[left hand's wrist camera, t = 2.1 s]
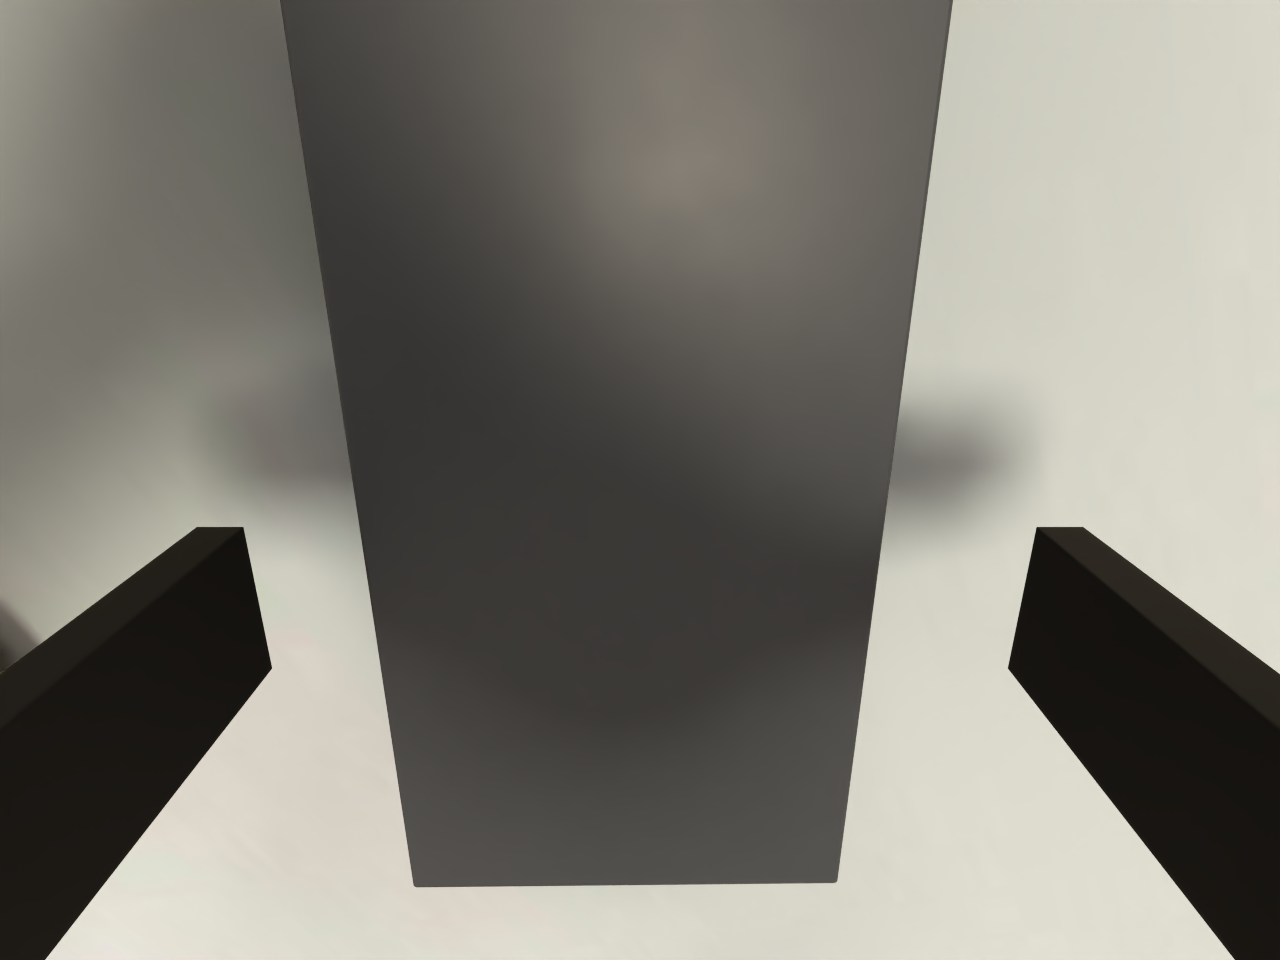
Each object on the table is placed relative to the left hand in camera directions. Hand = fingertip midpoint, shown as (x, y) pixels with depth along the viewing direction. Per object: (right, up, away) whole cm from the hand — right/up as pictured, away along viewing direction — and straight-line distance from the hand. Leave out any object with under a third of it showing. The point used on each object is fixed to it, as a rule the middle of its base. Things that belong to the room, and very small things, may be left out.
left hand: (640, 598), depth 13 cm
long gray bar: (0, +29, -3) cm, 29 cm away
